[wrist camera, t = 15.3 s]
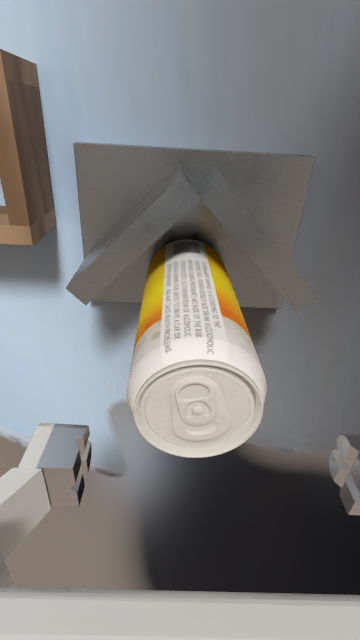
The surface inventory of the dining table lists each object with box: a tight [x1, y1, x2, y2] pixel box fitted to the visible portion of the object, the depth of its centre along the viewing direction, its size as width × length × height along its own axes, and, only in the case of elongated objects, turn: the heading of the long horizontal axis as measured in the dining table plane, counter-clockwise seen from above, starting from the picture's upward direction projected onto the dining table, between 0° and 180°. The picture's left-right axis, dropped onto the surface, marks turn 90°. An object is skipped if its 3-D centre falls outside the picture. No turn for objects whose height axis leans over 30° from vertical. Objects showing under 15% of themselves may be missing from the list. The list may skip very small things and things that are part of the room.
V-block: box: [66, 142, 318, 313], centre depth 23 cm, size 16×12×8 cm
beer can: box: [127, 239, 267, 458], centre depth 20 cm, size 6×6×15 cm
